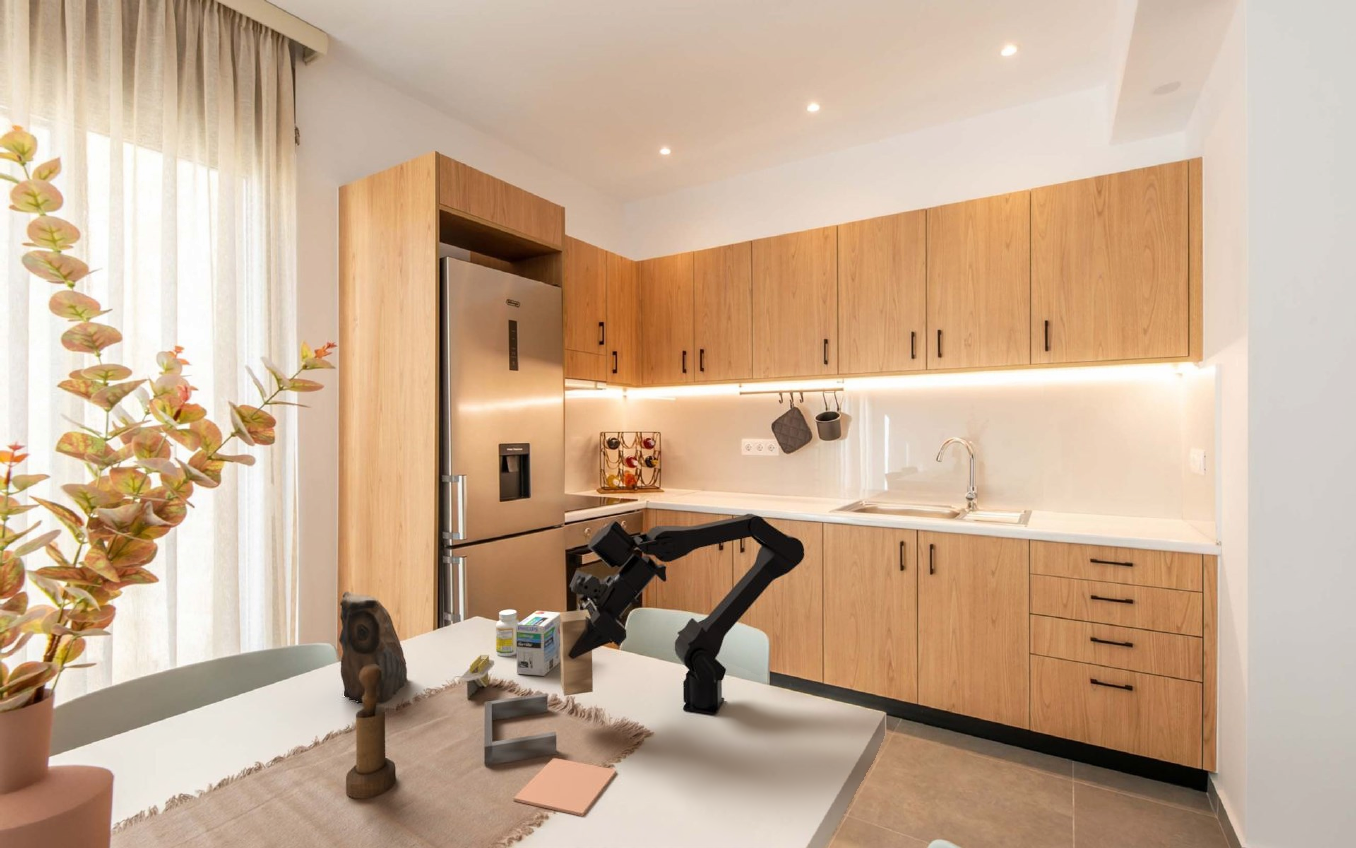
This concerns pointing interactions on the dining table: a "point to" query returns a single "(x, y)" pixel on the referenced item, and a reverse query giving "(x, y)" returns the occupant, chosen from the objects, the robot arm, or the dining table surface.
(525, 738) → the nook
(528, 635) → the light bulb box
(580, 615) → the block
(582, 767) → the mat
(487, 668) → the platform
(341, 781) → the dining table surface
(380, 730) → the mortar and pestle
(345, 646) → the owl
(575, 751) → the dining table surface
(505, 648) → the supplement bottle
